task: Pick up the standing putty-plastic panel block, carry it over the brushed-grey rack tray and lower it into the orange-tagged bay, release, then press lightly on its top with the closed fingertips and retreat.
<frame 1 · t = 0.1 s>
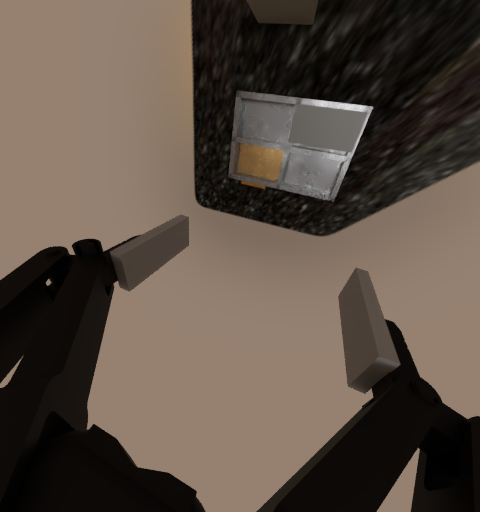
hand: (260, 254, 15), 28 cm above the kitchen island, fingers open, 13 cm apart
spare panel: (323, 131, 31), point 1 cm above the kitchen island, touching rack
rack: (289, 148, 35), on the kitchen island
panel: (288, 2, 26), on the kitchen island
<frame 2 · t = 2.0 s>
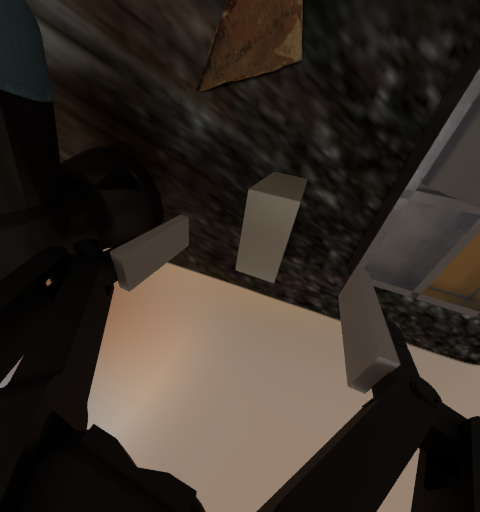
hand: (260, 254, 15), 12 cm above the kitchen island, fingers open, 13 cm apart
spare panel: (479, 136, 15), point 1 cm above the kitchen island, touching rack
rack: (469, 202, 18), on the kitchen island
panel: (281, 207, 24), on the kitchen island
shard: (260, 52, 18), on the kitchen island
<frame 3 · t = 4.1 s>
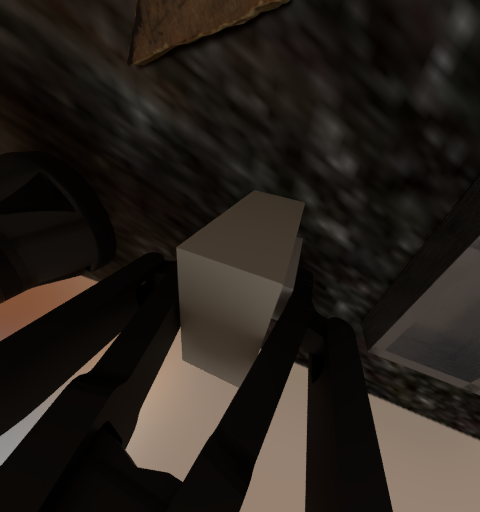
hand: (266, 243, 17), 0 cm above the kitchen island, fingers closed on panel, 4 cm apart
panel: (267, 241, 17), on the kitchen island, touching gripper
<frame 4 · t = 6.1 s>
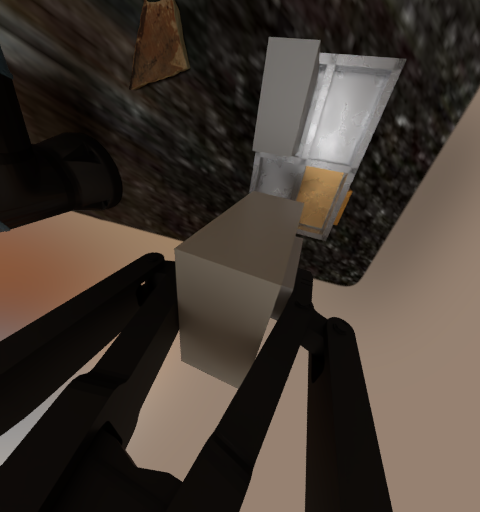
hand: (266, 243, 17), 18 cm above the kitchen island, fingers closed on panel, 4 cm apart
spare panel: (292, 114, 25), point 1 cm above the kitchen island, touching rack
rack: (304, 159, 28), on the kitchen island
panel: (266, 241, 17), point 18 cm above the kitchen island, touching gripper
shard: (167, 63, 28), on the kitchen island
when the fingers open (4 cm above the kitchen island, at t = 8.2 s): panel drops 3 cm, resting on rack.
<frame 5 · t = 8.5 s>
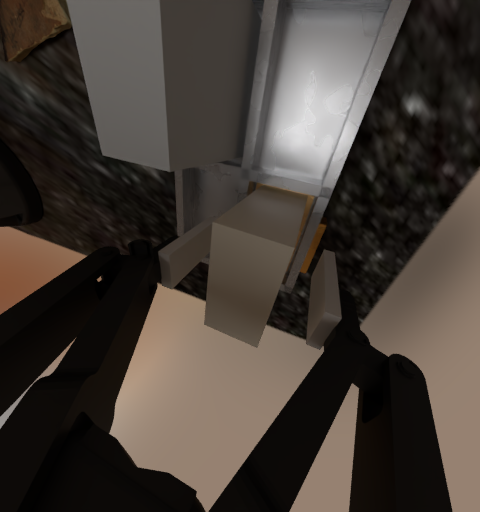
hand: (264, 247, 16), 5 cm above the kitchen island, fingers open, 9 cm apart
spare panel: (226, 95, 15), point 1 cm above the kitchen island, touching rack
rack: (255, 169, 18), on the kitchen island
panel: (273, 230, 19), point 1 cm above the kitchen island, touching rack
shard: (49, 18, 18), on the kitchen island
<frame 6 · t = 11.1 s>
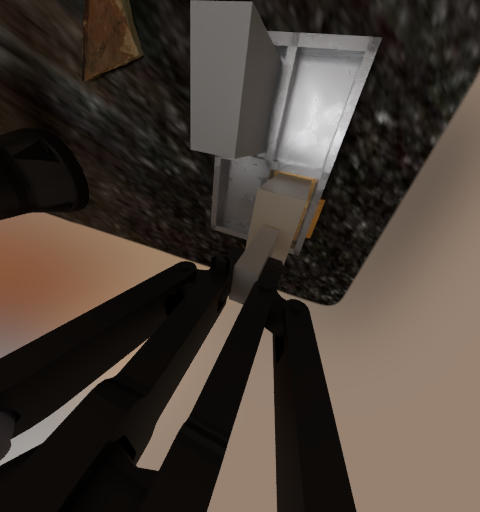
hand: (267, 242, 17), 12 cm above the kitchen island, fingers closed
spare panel: (255, 109, 21), point 1 cm above the kitchen island, touching rack
rack: (273, 162, 24), on the kitchen island
panel: (286, 207, 25), point 1 cm above the kitchen island, touching rack
shard: (120, 50, 25), on the kitchen island
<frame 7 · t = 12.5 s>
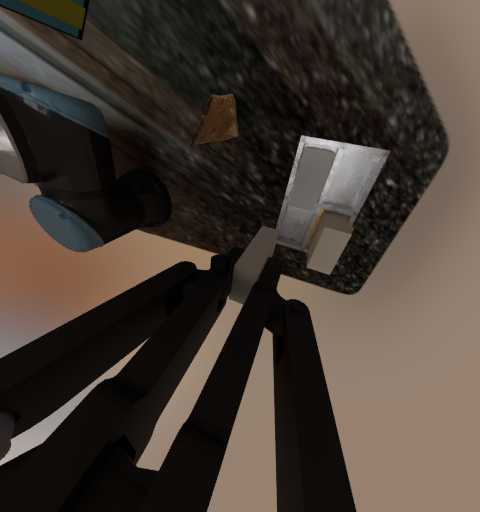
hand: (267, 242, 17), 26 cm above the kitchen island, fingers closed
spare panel: (312, 172, 35), point 1 cm above the kitchen island, touching rack
rack: (319, 201, 38), on the kitchen island
panel: (326, 229, 39), point 1 cm above the kitchen island, touching rack
shard: (221, 129, 38), on the kitchen island
carton: (70, 1, 36), on the kitchen island
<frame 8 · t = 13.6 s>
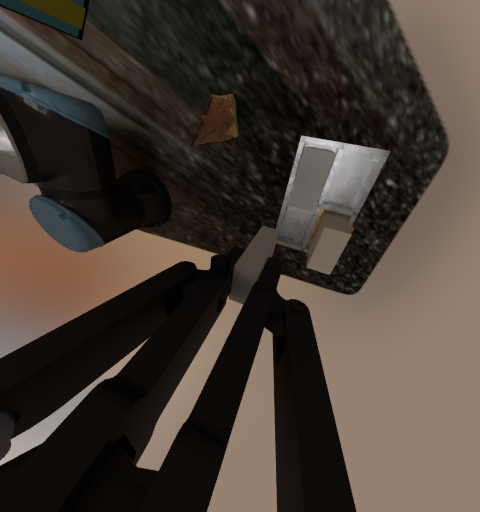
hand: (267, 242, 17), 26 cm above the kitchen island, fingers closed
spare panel: (312, 172, 35), point 1 cm above the kitchen island, touching rack
rack: (319, 201, 38), on the kitchen island
panel: (326, 229, 39), point 1 cm above the kitchen island, touching rack
shard: (221, 129, 38), on the kitchen island
carton: (70, 0, 36), on the kitchen island
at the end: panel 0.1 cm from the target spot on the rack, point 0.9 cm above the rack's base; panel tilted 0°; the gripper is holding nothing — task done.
